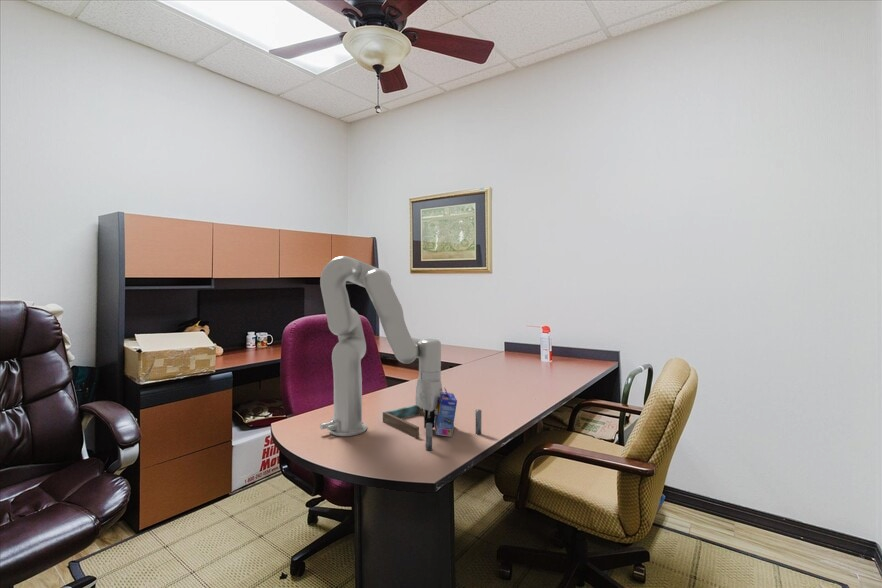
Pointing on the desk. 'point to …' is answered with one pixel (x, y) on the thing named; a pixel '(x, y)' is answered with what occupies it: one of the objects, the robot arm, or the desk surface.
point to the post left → (428, 436)
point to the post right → (478, 422)
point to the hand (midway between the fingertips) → (429, 428)
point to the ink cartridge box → (445, 415)
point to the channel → (396, 420)
